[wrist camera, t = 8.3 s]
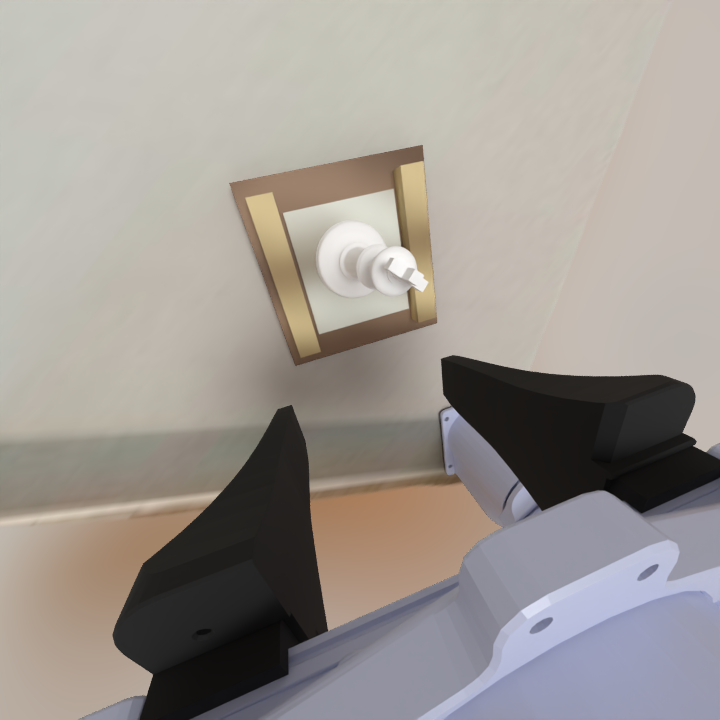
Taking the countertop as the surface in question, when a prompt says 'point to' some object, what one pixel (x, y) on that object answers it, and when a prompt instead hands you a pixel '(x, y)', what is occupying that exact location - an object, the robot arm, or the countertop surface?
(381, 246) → the chess piece
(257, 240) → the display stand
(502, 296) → the countertop surface
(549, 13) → the countertop surface
